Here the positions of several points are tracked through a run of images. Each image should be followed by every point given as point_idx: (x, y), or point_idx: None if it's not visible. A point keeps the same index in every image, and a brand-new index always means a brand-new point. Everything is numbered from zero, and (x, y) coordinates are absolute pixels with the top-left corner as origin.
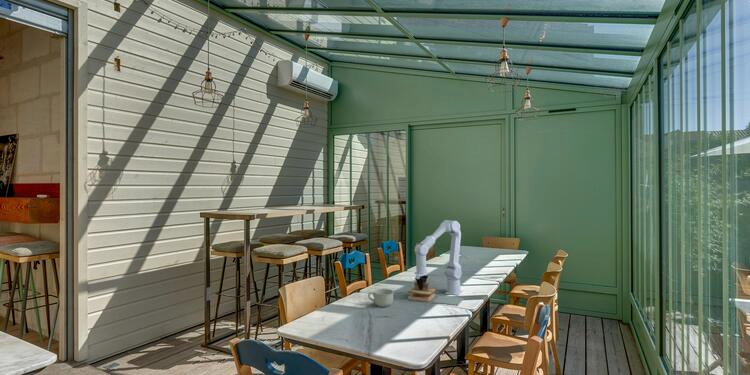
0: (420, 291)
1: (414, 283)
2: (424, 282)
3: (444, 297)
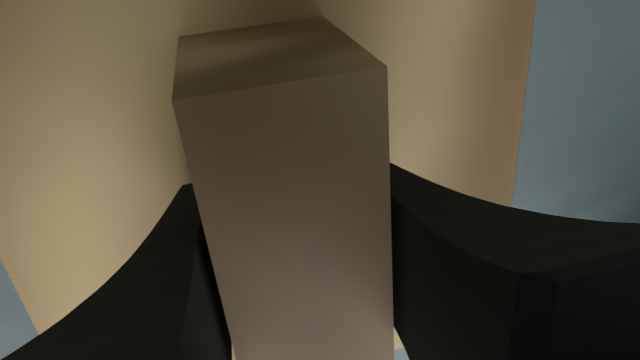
0: (135, 233)
1: (175, 101)
2: (403, 328)
3: (397, 356)
